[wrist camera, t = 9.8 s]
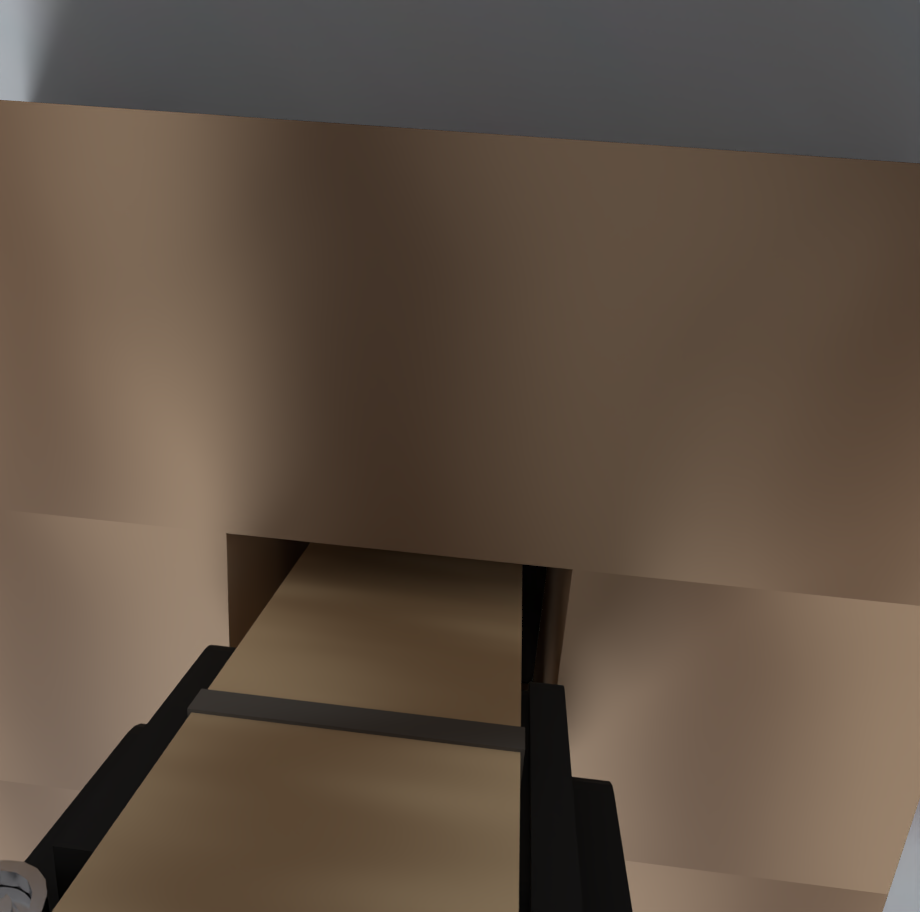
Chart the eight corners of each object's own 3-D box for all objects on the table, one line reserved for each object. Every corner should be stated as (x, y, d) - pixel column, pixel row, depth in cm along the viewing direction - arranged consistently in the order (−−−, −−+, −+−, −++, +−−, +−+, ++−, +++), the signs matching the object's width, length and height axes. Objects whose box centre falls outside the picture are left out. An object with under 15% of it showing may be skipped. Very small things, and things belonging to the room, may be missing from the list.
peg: (525, 554, 14) (523, 1304, 4) (505, 735, 15) (469, 1637, 5) (312, 532, 14) (-157, 1189, 4) (311, 711, 15) (-59, 1530, 6)
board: (917, 197, 14) (1124, 177, 9) (739, 908, 19) (810, 1130, 14) (23, 132, 15) (-213, 85, 10) (93, 823, 20) (-40, 1004, 16)
